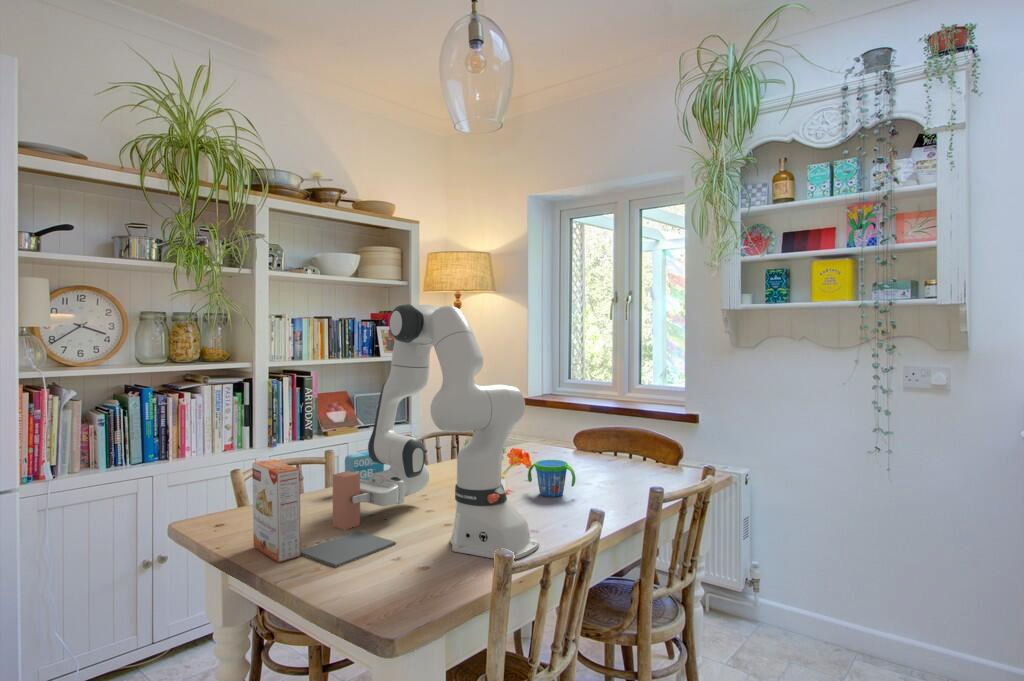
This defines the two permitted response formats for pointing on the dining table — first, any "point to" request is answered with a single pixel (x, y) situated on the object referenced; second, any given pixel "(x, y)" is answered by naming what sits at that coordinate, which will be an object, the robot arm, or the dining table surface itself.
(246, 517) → the dining table surface
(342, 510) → the block
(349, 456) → the data package
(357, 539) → the mat
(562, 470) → the snack cup
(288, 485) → the cracker box
